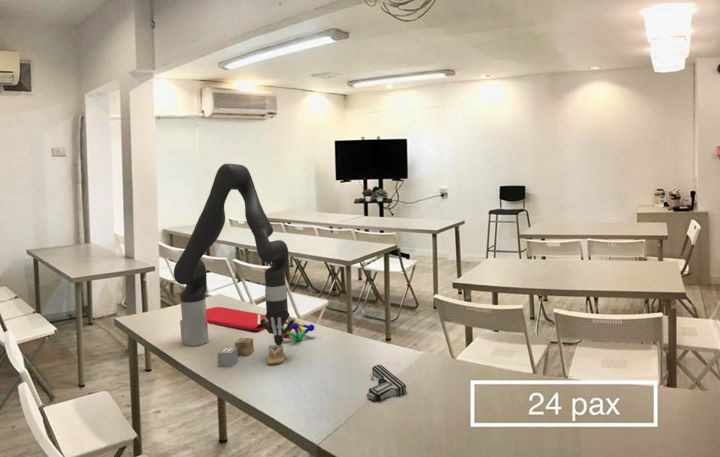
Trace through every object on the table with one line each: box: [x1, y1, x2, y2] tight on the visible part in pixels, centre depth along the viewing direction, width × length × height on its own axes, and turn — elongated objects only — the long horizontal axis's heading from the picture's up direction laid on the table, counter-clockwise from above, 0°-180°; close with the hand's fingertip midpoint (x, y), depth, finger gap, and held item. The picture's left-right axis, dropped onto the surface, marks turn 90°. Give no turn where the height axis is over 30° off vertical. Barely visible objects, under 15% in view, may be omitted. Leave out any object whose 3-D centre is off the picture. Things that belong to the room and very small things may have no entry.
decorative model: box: [283, 319, 315, 342], centre depth 202 cm, size 13×9×15 cm
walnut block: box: [234, 337, 255, 357], centre depth 188 cm, size 5×5×5 cm
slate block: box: [217, 347, 239, 368], centre depth 179 cm, size 5×5×5 cm
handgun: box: [366, 364, 407, 402], centre depth 157 cm, size 3×19×12 cm
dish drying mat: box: [206, 306, 272, 332], centre depth 228 cm, size 16×41×4 cm, turn 56°
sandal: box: [266, 343, 286, 366], centre depth 183 cm, size 7×16×5 cm, turn 14°
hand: (279, 344), depth 184 cm, fingers closed
